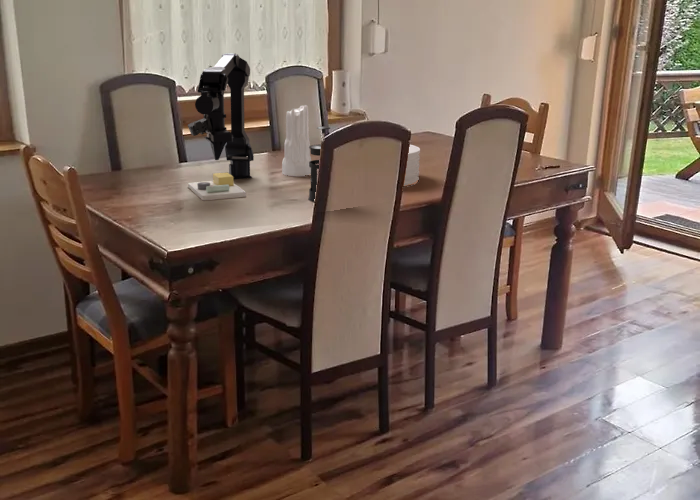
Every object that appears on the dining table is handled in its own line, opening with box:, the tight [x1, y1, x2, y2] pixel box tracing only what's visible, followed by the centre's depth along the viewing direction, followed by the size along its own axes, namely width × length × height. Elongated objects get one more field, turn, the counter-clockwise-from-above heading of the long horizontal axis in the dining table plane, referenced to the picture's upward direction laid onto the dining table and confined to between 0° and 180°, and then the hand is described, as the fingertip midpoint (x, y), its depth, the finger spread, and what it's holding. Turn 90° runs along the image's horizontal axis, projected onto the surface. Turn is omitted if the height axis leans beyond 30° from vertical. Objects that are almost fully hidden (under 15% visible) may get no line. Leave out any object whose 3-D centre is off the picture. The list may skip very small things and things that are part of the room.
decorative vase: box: [281, 104, 312, 177], centre depth 281 cm, size 11×11×25 cm
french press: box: [308, 125, 331, 203], centre depth 243 cm, size 12×9×23 cm
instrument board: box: [187, 171, 247, 201], centre depth 254 cm, size 14×20×4 cm
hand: (216, 159), depth 249 cm, fingers closed
